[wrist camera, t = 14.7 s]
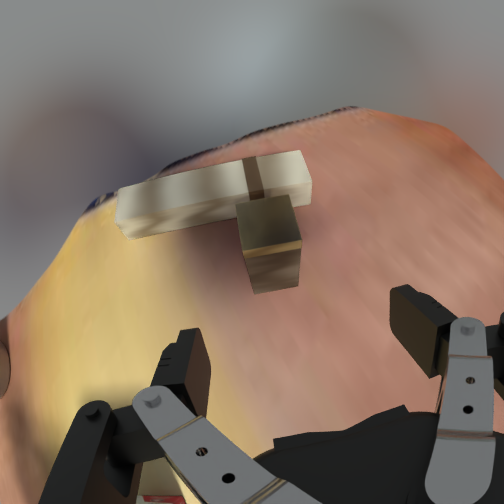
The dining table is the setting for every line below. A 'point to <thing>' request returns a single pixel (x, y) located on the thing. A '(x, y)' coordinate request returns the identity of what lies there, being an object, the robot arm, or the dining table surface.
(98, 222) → the dining table surface
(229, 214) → the board
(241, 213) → the brown rectangular block
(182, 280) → the dining table surface
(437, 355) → the robot arm
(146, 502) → the ink box
